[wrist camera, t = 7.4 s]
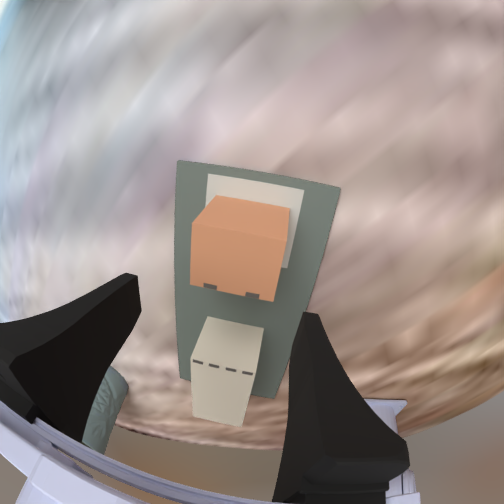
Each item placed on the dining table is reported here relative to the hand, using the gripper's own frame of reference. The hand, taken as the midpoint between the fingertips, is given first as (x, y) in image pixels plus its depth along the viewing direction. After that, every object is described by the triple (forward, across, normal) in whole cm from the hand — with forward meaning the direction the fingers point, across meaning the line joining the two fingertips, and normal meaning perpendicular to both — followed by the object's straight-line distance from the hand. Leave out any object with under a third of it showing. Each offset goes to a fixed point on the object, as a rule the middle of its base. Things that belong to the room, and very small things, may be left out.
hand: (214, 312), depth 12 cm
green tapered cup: (+10, +18, +27) cm, 34 cm away
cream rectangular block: (+10, 0, +14) cm, 17 cm away
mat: (+10, 0, +8) cm, 13 cm away
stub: (+10, 0, 0) cm, 10 cm away
